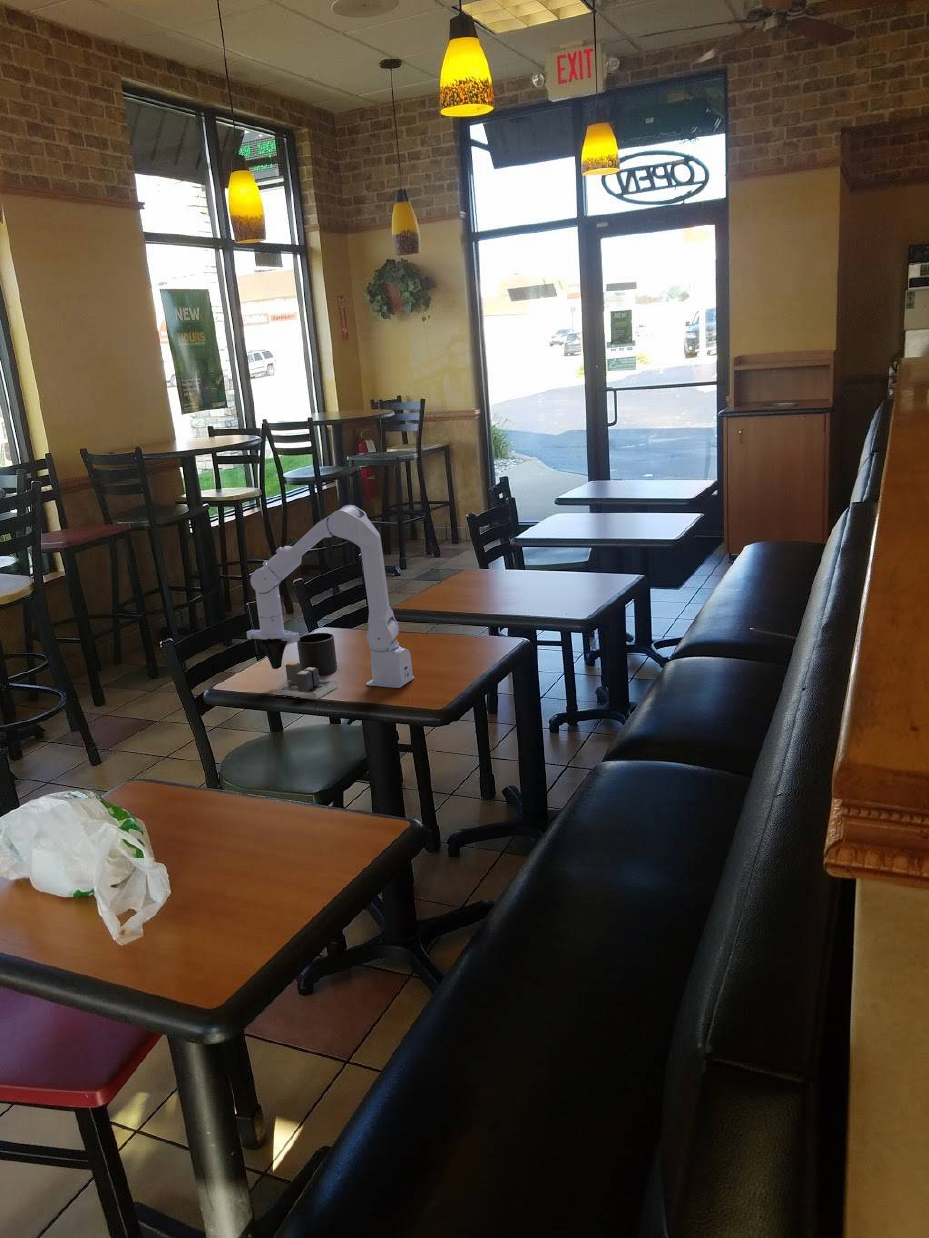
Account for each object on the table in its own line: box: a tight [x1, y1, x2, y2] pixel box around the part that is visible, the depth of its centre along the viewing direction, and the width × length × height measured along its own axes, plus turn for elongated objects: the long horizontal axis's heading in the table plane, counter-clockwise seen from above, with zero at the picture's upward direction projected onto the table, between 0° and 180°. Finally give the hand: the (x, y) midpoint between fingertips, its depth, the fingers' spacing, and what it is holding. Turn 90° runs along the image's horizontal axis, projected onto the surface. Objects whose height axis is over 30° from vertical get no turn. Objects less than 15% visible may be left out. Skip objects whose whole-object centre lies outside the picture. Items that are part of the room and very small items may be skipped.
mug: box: [296, 632, 338, 677], centre depth 249 cm, size 9×12×9 cm
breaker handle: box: [284, 661, 301, 682], centre depth 237 cm, size 3×2×4 cm
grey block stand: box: [274, 667, 338, 700], centre depth 232 cm, size 12×9×6 cm
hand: (276, 667), depth 239 cm, fingers closed
